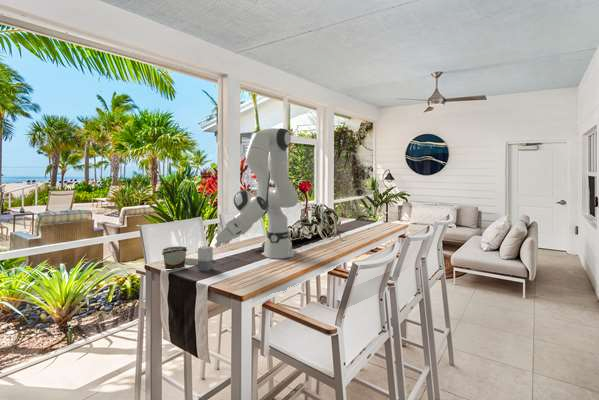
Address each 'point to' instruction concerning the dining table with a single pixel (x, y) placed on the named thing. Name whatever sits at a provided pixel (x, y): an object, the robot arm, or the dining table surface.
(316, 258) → the dining table surface
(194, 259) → the stand
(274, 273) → the dining table surface
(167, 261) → the food container
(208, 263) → the block
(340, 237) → the dining table surface
